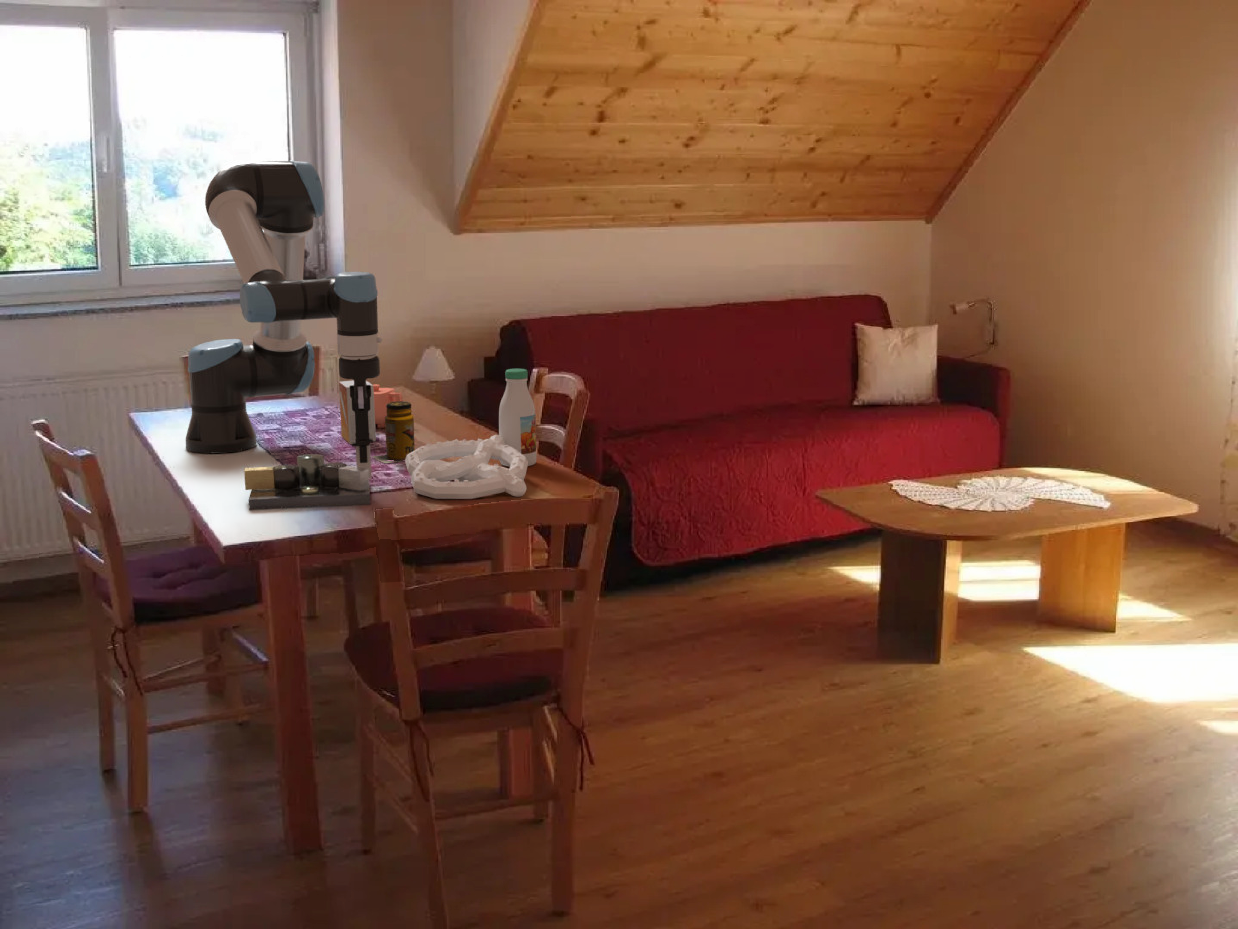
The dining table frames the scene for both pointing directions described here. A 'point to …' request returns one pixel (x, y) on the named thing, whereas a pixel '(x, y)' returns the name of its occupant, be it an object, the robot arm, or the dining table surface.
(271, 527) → the dining table surface
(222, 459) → the dining table surface
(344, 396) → the small box
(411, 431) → the condiment
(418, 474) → the pretzel
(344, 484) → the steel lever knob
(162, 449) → the dining table surface
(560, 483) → the dining table surface
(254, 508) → the base plate
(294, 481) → the brass lever knob
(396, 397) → the teapot
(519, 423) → the milk bottle
